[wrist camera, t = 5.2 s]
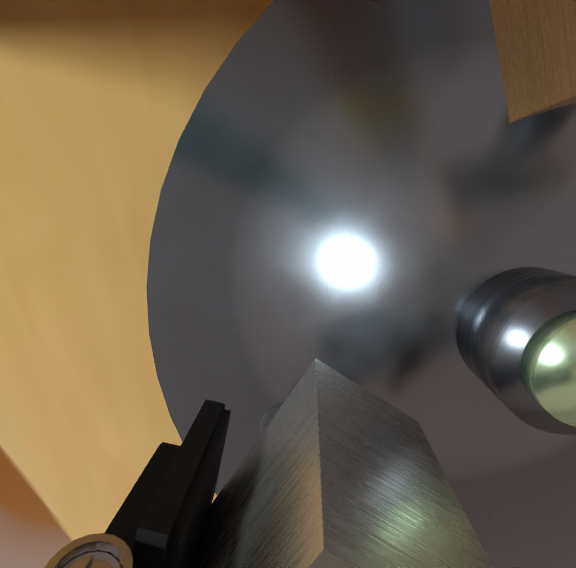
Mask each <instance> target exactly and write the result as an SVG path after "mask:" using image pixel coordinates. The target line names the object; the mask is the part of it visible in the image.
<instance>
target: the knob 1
mask: <svg viewBox="0 0 576 568" xmlns="http://www.w3.org/2000/svg"><path fill="white" fill-rule="evenodd" d="M190 568H493V567H492V565H491V563H490V561H489V559H488V557H487V555H486V553H485V551H484V549H483V547H482V545H481V543H480V542H479V540H478V538H477V536H476V534H475V532H474V530H473V528H472V526H471V524H470V522H469V520H468V518H467V516H466V514H465V512H464V510H463V508H462V506H461V504H460V502H459V500H458V498H457V496H456V495H455V493H454V491H453V489H452V487H451V485H450V483H449V481H448V479H447V477H446V475H445V473H444V471H443V469H442V467H441V465H440V463H439V461H438V459H437V457H436V455H435V453H434V451H433V449H432V448H431V446H430V444H429V442H428V440H427V438H426V436H425V434H424V432H423V430H422V428H421V426H420V424H419V422H418V421H416V420H415V419H413V418H412V417H410V416H408V415H407V414H405V413H403V412H402V411H400V410H399V409H397V408H395V407H394V406H392V405H391V404H389V403H387V402H386V401H384V400H382V399H381V398H379V397H378V396H376V395H374V394H373V393H371V392H370V391H368V390H366V389H365V388H363V387H361V386H360V385H358V384H357V383H355V382H353V381H352V380H350V379H349V378H347V377H345V376H344V375H342V374H341V373H339V372H337V371H336V370H334V369H332V368H331V367H329V366H328V365H326V364H324V363H323V362H321V361H320V360H318V359H316V358H315V359H314V361H313V362H312V364H311V365H310V366H309V368H308V369H307V371H306V372H305V373H304V375H303V376H302V378H301V379H300V380H299V382H298V383H297V385H296V386H295V387H294V389H293V390H292V392H291V393H290V394H289V396H288V397H287V399H286V400H285V401H283V402H280V403H277V404H275V405H273V406H272V407H271V408H269V409H268V410H267V412H266V413H265V414H264V416H263V418H262V421H261V425H260V429H259V434H258V438H257V441H256V442H255V444H254V445H253V447H252V448H251V449H250V451H249V452H248V454H247V455H246V456H245V458H244V459H243V461H242V462H241V463H240V465H239V466H238V468H237V469H236V470H235V472H234V473H233V475H232V476H231V477H230V479H229V480H228V482H227V483H226V484H225V486H224V487H223V489H222V490H221V491H220V493H219V494H218V496H217V497H216V499H215V500H214V501H213V503H212V504H211V506H210V508H209V511H208V514H207V517H206V520H205V523H204V526H203V529H202V532H201V535H200V538H199V541H198V544H197V547H196V550H195V553H194V556H193V559H192V562H191V565H190Z"/></svg>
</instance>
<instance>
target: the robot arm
mask: <svg viewBox="0 0 576 568" xmlns="http://www.w3.org/2000/svg"><path fill="white" fill-rule="evenodd" d="M230 415H231V411H230V410H226V409H225V404H224V403H220V402H216V401H212V400H207V399H206V400H205V402H204V403H203V405H202V407H201V409H200V411H199V413H198V415H197V416H196V418H195V420H194V422H193V424H192V426H191V428H190V429H189V431H188V433H187V435H186V437H185V439H184V441H183V443H182V444H181V446H178V445H173V444H169V443H165V442H163V443H161V444H160V445H159V447H158V448H157V450H156V451H155V453H154V455H153V456H152V458H151V459H150V461H149V463H148V464H147V466H146V467H145V469H144V471H143V472H142V474H141V475H140V477H139V479H138V480H137V482H136V483H135V485H134V487H133V488H132V490H131V491H130V493H129V495H128V496H127V498H126V499H125V501H124V503H123V504H122V506H121V507H120V509H119V511H118V512H117V514H116V515H115V517H114V519H113V520H112V522H111V523H110V525H109V527H108V528H107V530H106V531H105V533H100V534H90V535H87V536H84V537H81V538H78V539H76V540H74V541H72V542H71V543H69V544H67V545H66V546H64V547H63V548H61V550H59V551H58V552H57V553H56V554H55V555H54V556H53V557H52V558H51V559H50V560H49V562H48V563H47V565H46V566H45V568H190V565H191V562H192V559H193V556H194V553H195V550H196V547H197V544H198V541H199V538H200V535H201V532H202V529H203V526H204V523H205V520H206V517H207V514H208V511H209V508H210V506H211V504H212V500H213V497H214V493H215V489H216V484H217V479H218V474H219V469H220V464H221V459H222V454H223V449H224V444H225V439H226V435H227V430H228V425H229V420H230Z"/></svg>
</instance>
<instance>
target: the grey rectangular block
mask: <svg viewBox="0 0 576 568" xmlns="http://www.w3.org/2000/svg"><path fill="white" fill-rule="evenodd" d="M489 1H490V7H491V13H492V19H493V25H494V31H495V38H496V44H497V50H498V56H499V62H500V68H501V74H502V80H503V86H504V92H505V98H506V105H507V111H508V117H509V123H511V122H515V121H518V120H521V119H524V118H527V117H531V116H534V115H537V114H540V113H543V112H546V111H550V110H553V109H556V108H559V107H562V106H566V105H569V104H572V103H575V102H576V0H489Z"/></svg>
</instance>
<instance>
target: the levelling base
mask: <svg viewBox="0 0 576 568" xmlns="http://www.w3.org/2000/svg"><path fill="white" fill-rule="evenodd" d="M147 303H148V321H149V335H150V340H151V346H152V351H153V356H154V362H155V367H156V372H157V377H158V380H159V383H160V386H161V389H162V392H163V395H164V398H165V401H166V404H167V407H168V410H169V413H170V416H171V418H172V421H173V423H174V425H175V427H176V429H177V431H178V433H179V435H180V437H181V439H182V441H184V439H185V437H186V435H187V433H188V431H189V429H190V428H191V426H192V424H193V422H194V420H195V418H196V416H197V415H198V413H199V411H200V409H201V407H202V405H203V403H204V402H205V400H206V399H207V400H212V401H216V402H220V403H224V404H225V409H226V410H230V411H231V415H230V420H229V425H228V430H227V435H226V439H225V444H224V449H223V454H222V459H221V464H220V469H219V474H218V479H217V484H216V489H215V493H216V494H217V496H218V494H219V493H220V491H221V490H222V489H223V487H224V486H225V484H226V483H227V482H228V480H229V479H230V477H231V476H232V475H233V473H234V472H235V470H236V469H237V468H238V466H239V465H240V463H241V462H242V461H243V459H244V458H245V456H246V455H247V454H248V452H249V451H250V449H251V448H252V447H253V445H254V444H255V442H256V441H257V438H258V434H259V429H260V425H261V421H262V418H263V416H264V414H265V413H266V412H267V410H268V409H269V408H271V407H272V406H273V405H275V404H277V403H280V402H283V401H285V400H286V399H287V397H288V396H289V394H290V393H291V392H292V390H293V389H294V387H295V386H296V385H297V383H298V382H299V380H300V379H301V378H302V376H303V375H304V373H305V372H306V371H307V369H308V368H309V366H310V365H311V364H312V362H313V361H314V359H315V358H316V359H318V360H320V361H321V362H323V363H324V364H326V365H328V366H329V367H331V368H332V369H334V370H336V371H337V372H339V373H341V374H342V375H344V376H345V377H347V378H349V379H350V380H352V381H353V382H355V383H357V384H358V385H360V386H361V387H363V388H365V389H366V390H368V391H370V392H371V393H373V394H374V395H376V396H378V397H379V398H381V399H382V400H384V401H386V402H387V403H389V404H391V405H392V406H394V407H395V408H397V409H399V410H400V411H402V412H403V413H405V414H407V415H408V416H410V417H412V418H413V419H415V420H416V421H418V422H419V424H420V426H421V428H422V430H423V432H424V434H425V436H426V438H427V440H428V442H429V444H430V446H431V448H432V449H433V451H434V453H435V455H436V457H437V459H438V461H439V463H440V465H441V467H442V469H443V471H444V473H445V475H446V477H447V479H448V481H449V483H450V485H451V487H452V489H453V491H454V493H455V495H456V496H457V498H458V500H459V502H460V504H461V506H462V508H463V510H464V512H465V514H466V516H467V518H468V520H469V522H470V524H471V526H472V528H473V530H474V532H475V534H476V536H477V538H478V540H479V542H480V543H481V545H482V547H483V549H484V551H485V553H486V555H487V557H488V559H489V561H490V563H491V565H492V567H493V568H576V102H575V103H572V104H569V105H566V106H562V107H559V108H556V109H553V110H550V111H546V112H543V113H540V114H537V115H534V116H531V117H527V118H524V119H521V120H518V121H515V122H511V123H509V117H508V111H507V105H506V98H505V92H504V86H503V80H502V74H501V68H500V62H499V56H498V50H497V44H496V38H495V31H494V25H493V19H492V13H491V7H490V1H489V0H275V1H274V2H273V3H272V4H271V5H270V6H269V7H268V8H267V10H266V11H265V12H264V13H263V14H262V15H261V16H260V17H259V18H258V20H257V21H256V22H255V23H254V24H253V25H252V26H251V27H250V29H249V30H248V31H247V32H246V33H245V34H244V35H243V36H242V37H241V39H240V40H239V41H238V42H237V43H236V45H235V46H234V48H233V49H232V51H231V52H230V54H229V55H228V57H227V58H226V59H225V61H224V62H223V64H222V65H221V67H220V68H219V70H218V71H217V73H216V74H215V76H214V77H213V78H212V80H211V81H210V83H209V84H208V86H207V87H206V89H205V90H204V92H203V94H202V96H201V98H200V100H199V102H198V104H197V106H196V108H195V110H194V112H193V113H192V115H191V117H190V119H189V121H188V123H187V125H186V127H185V129H184V131H183V133H182V135H181V137H180V139H179V141H178V144H177V147H176V150H175V152H174V155H173V158H172V161H171V164H170V167H169V169H168V172H167V175H166V178H165V181H164V183H163V186H162V189H161V193H160V197H159V202H158V207H157V211H156V216H155V221H154V225H153V230H152V235H151V239H150V252H149V264H148V277H147Z"/></svg>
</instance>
